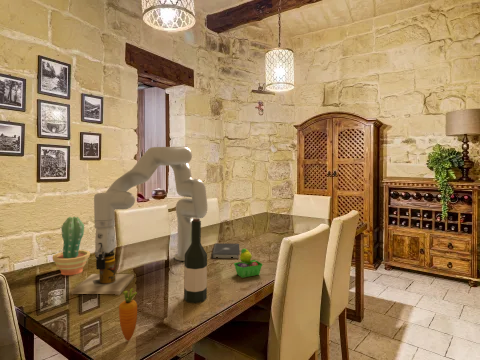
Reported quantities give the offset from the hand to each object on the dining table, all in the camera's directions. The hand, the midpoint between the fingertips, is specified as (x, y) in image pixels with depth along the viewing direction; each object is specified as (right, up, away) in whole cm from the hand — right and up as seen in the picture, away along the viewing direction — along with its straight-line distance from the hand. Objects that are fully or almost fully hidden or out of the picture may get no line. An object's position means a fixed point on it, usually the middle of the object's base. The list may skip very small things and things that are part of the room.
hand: (105, 265), depth 128 cm
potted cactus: (-22, -7, +15) cm, 28 cm away
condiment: (0, -7, 0) cm, 7 cm away
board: (0, -8, 0) cm, 8 cm away
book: (+47, -7, +50) cm, 69 cm away
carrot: (+23, -11, -39) cm, 47 cm away
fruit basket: (+58, -9, +16) cm, 61 cm away
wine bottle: (+38, -10, -10) cm, 41 cm away
